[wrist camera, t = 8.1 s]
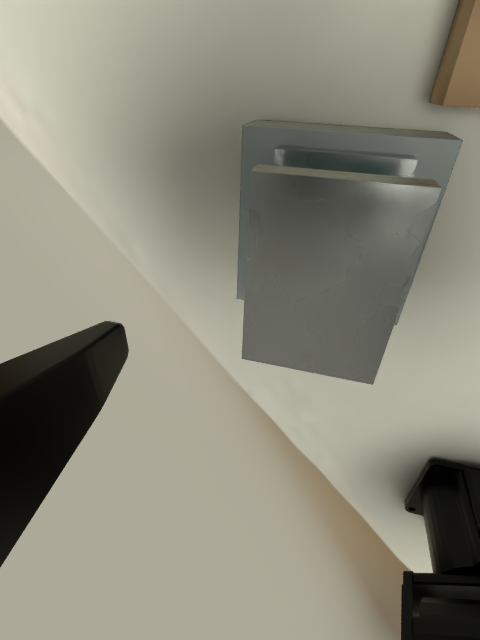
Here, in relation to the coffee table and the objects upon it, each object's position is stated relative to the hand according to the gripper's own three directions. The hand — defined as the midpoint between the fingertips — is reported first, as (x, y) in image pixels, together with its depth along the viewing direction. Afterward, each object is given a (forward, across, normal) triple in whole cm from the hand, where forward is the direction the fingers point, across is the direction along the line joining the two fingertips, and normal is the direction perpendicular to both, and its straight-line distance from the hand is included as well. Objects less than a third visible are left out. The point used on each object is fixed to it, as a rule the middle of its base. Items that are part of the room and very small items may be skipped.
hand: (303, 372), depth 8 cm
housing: (+9, 0, 0) cm, 9 cm away
